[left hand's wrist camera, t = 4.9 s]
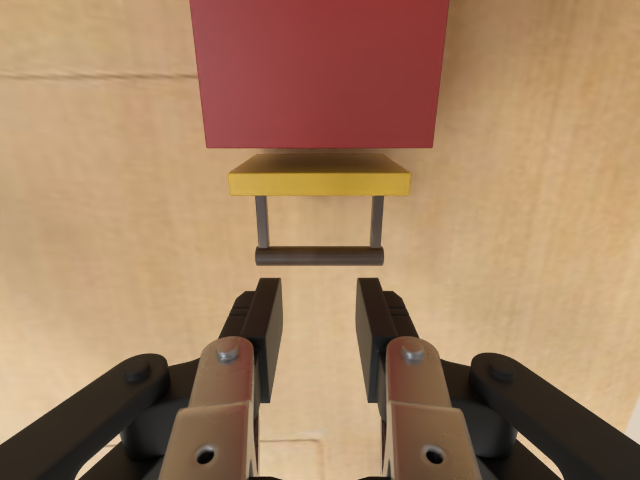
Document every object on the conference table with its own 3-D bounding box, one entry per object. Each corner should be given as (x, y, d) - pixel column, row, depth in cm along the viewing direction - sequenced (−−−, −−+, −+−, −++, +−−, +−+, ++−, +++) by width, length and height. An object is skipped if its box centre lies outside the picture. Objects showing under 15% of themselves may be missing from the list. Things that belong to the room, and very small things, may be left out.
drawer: (378, 233, 27) (401, 282, 19) (261, 233, 27) (237, 282, 19) (401, -120, 19) (454, -270, 12) (237, -120, 19) (184, -270, 12)
